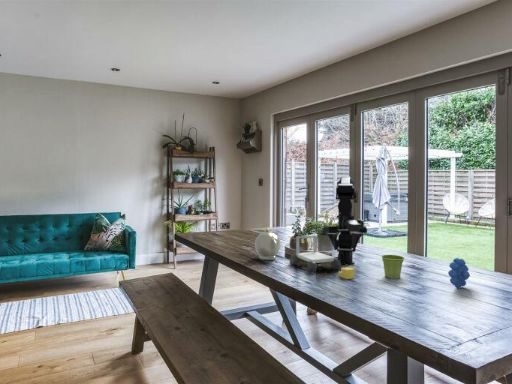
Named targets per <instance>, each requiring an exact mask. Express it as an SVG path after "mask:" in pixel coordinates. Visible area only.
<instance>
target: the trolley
mask: <svg viewBox="0 0 512 384" xmlns="http://www.w3.org/2000/svg"><path fill="white" fill-rule="evenodd" d="M310 238H311V239H313V251H309V252H300V239H310ZM289 258H290V259H289V261H290V264H291V265H292V266H297V265H298V264H299V262H300V259H301V260H303V261H306V262H307V263H306V268H307V271H308V272H309V273H315V272H317V270H318V269H317V268H318V266H317V264H321V263H327V262H328V263H329V262H330V266H331V269H332V270H340V269H341V268H342V267H341V266H342V264H341V263H340V260H339V259H338V257H337V258H336V257H333V256H330V255H328V254H324V253H322V252H319V251H318V236H317V234H310V235H309V234H308V235H297V236H295V254H291V255H290V257H289Z"/></svg>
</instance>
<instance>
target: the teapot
mask: <svg viewBox="0 0 512 384" xmlns="http://www.w3.org/2000/svg"><path fill="white" fill-rule="evenodd" d="M254 248H255V251H256V253H257V254H258V255H259V257H258V258H259V260H261V261H274V260H276V259H277V256H276V255H277V254H278V253H279V251H280V249H281V240H280V238H279V236H278V235H277V234H276V233H274V232H272V231H270V228H268V227H266V228H265V231H262V232H261V233H259V234H258V235H257V236H256V238H255V240H254Z"/></svg>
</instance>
